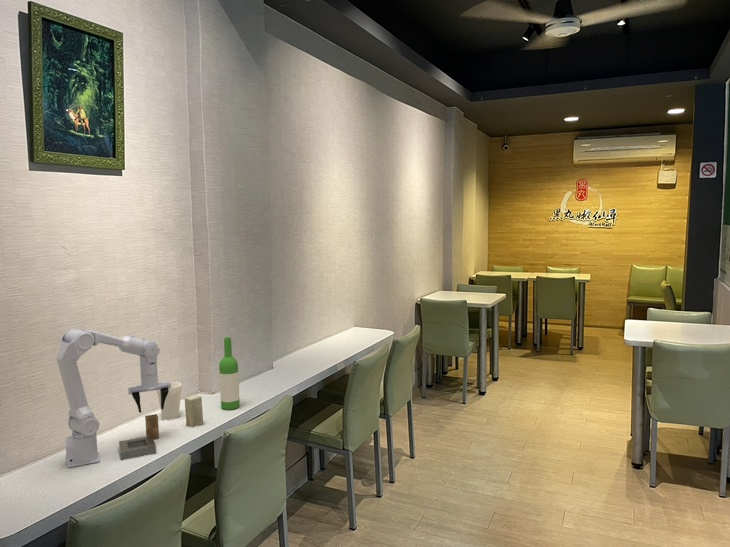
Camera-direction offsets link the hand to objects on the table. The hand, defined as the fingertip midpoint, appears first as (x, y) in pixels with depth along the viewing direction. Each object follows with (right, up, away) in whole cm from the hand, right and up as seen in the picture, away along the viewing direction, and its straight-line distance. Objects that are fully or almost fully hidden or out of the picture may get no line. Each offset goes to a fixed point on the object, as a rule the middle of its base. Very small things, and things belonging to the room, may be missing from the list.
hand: (151, 410), depth 205 cm
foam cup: (-1, -8, +23) cm, 24 cm away
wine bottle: (+21, -7, +33) cm, 39 cm away
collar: (-1, -12, -11) cm, 16 cm away
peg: (0, -10, +1) cm, 10 cm away
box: (+12, -9, +14) cm, 20 cm away
